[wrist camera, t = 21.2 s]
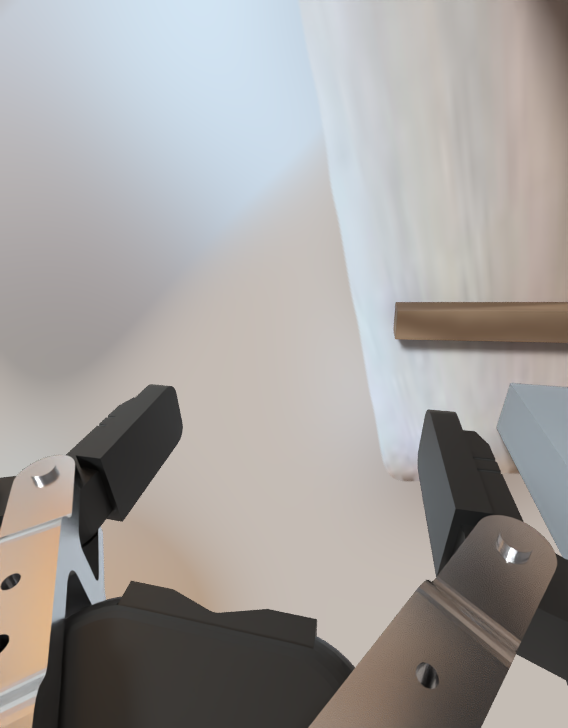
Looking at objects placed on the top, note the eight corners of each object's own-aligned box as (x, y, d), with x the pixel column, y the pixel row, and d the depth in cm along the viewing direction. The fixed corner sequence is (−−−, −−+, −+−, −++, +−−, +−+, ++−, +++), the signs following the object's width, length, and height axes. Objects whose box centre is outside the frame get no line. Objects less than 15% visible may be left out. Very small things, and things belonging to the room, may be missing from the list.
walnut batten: (395, 301, 37) (397, 311, 35) (645, 300, 33) (669, 312, 30) (393, 328, 39) (395, 339, 36) (632, 331, 34) (654, 344, 31)
